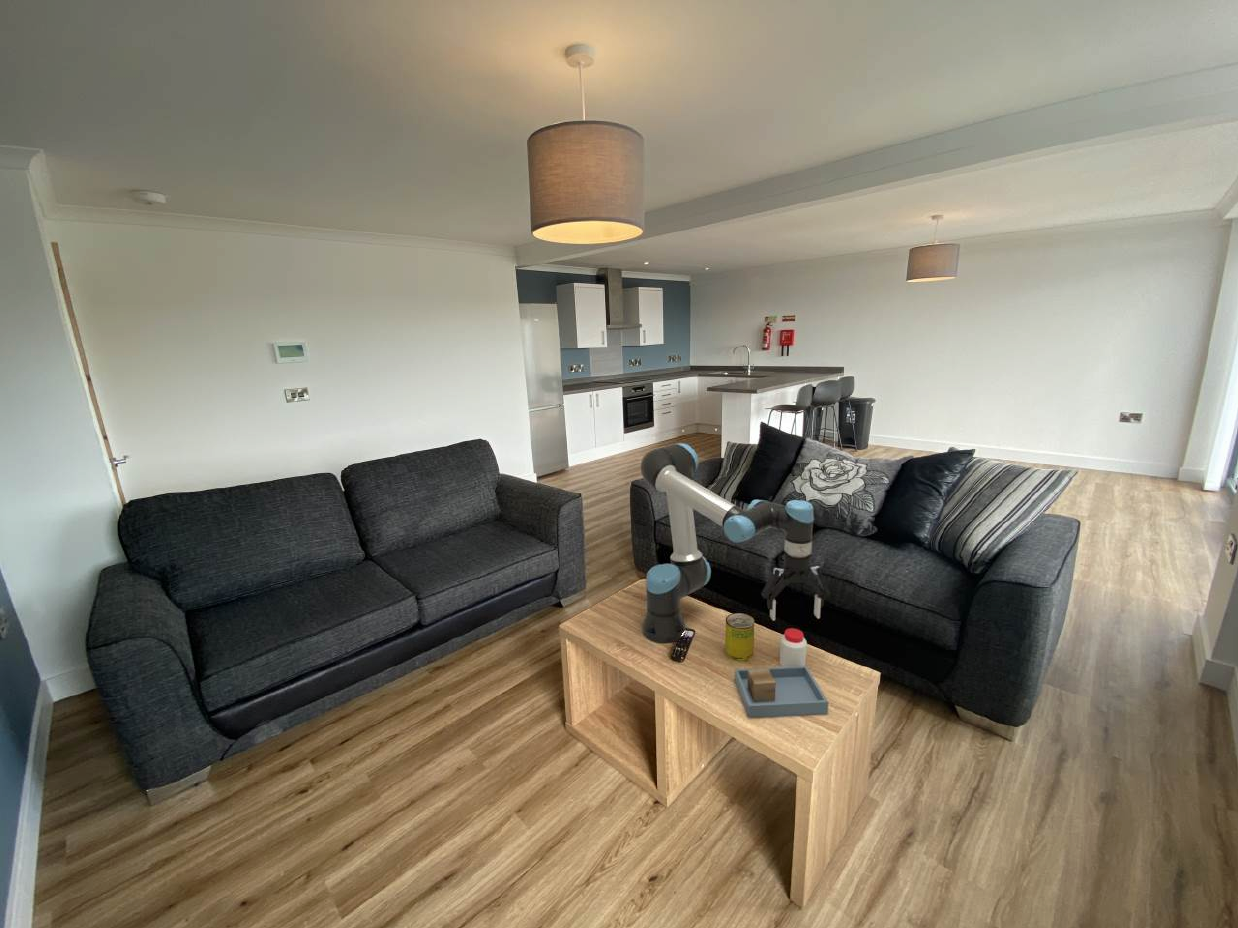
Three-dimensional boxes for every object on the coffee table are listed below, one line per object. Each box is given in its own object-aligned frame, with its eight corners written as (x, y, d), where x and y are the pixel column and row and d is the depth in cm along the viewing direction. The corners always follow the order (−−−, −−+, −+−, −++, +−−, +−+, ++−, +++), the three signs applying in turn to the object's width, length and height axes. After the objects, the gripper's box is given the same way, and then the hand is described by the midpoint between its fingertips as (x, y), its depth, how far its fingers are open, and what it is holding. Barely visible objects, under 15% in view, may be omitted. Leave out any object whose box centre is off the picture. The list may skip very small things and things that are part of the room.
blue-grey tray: (734, 680, 153) (734, 669, 152) (805, 676, 154) (806, 665, 153) (748, 717, 138) (749, 705, 137) (827, 713, 139) (828, 701, 138)
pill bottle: (776, 656, 164) (778, 626, 161) (801, 656, 163) (802, 626, 161) (783, 672, 156) (784, 640, 153) (809, 671, 156) (810, 640, 153)
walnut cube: (747, 688, 149) (748, 670, 147) (767, 686, 149) (768, 668, 147) (753, 702, 143) (754, 683, 141) (775, 700, 143) (775, 682, 142)
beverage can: (759, 657, 164) (760, 623, 161) (735, 664, 161) (736, 630, 158) (742, 642, 172) (743, 610, 169) (719, 649, 169) (720, 617, 166)
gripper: (759, 559, 146) (757, 625, 152) (845, 556, 146) (840, 621, 152) (752, 549, 154) (750, 612, 159) (834, 545, 154) (830, 608, 159)
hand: (794, 617), depth 155 cm, fingers open, 13 cm apart
